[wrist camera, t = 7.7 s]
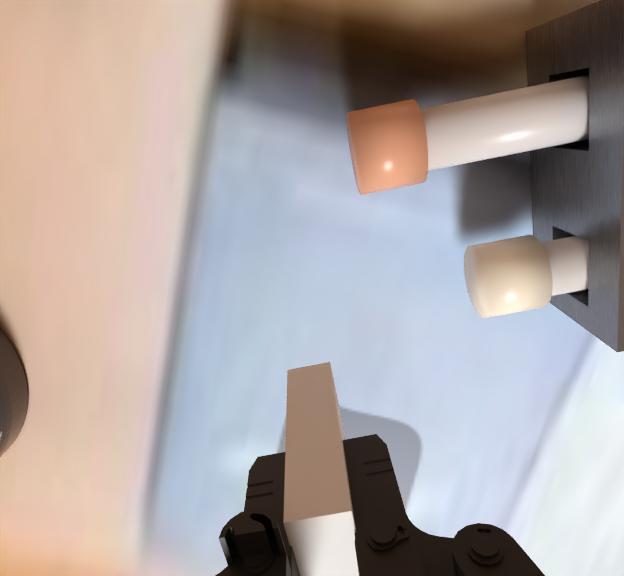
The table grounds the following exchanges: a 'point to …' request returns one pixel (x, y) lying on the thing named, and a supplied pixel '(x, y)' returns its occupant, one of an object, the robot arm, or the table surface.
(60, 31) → the table surface
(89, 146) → the table surface
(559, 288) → the knob
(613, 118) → the grey peg holder block
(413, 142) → the knob
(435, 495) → the table surface
